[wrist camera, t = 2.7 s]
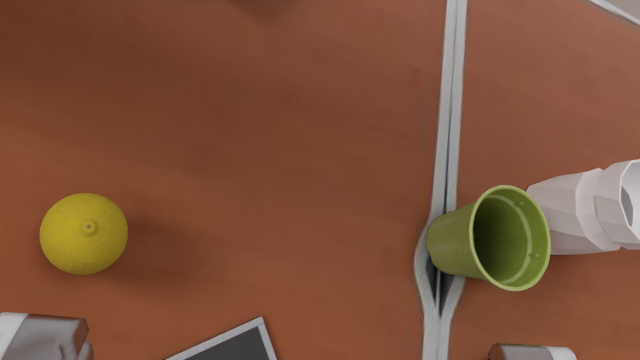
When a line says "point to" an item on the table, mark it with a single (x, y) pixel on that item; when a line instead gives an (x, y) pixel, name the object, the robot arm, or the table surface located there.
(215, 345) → the hob
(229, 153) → the table surface
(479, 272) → the plant pot
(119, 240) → the lemon
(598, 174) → the vase
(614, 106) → the table surface
